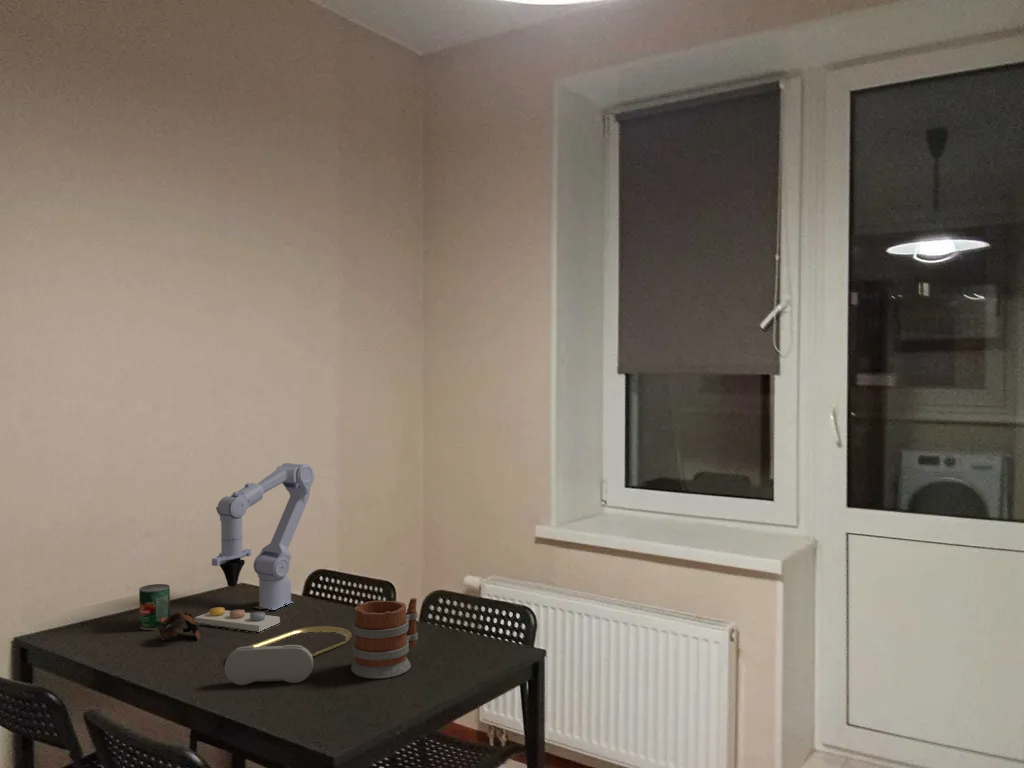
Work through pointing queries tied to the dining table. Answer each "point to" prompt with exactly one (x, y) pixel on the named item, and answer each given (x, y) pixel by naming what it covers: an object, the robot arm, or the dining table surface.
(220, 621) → the button panel
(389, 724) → the dining table surface
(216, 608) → the button amber
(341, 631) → the u-shaped metal loop
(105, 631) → the dining table surface
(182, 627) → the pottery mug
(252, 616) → the button slate
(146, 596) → the canned tomato
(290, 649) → the game controller
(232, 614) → the button terracotta
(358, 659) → the mug
